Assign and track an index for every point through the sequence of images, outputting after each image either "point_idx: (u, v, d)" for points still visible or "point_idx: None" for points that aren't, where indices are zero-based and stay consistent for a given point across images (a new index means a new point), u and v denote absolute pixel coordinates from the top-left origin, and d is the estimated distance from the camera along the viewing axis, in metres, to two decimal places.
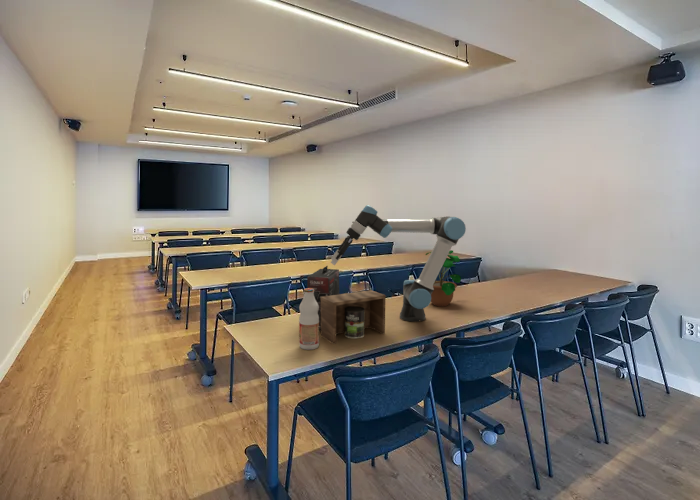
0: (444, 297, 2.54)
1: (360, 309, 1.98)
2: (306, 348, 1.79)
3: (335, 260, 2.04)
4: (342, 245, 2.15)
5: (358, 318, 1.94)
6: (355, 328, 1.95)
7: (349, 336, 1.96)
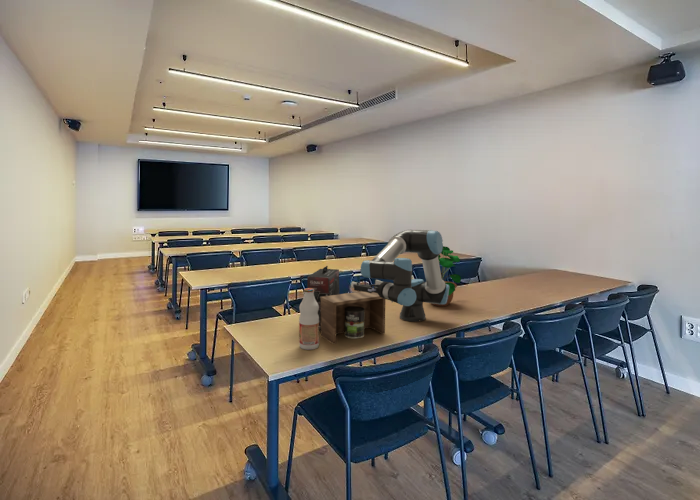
0: None
1: (360, 309, 1.98)
2: (306, 348, 1.79)
3: None
4: None
5: (358, 318, 1.94)
6: (355, 328, 1.95)
7: (349, 336, 1.96)
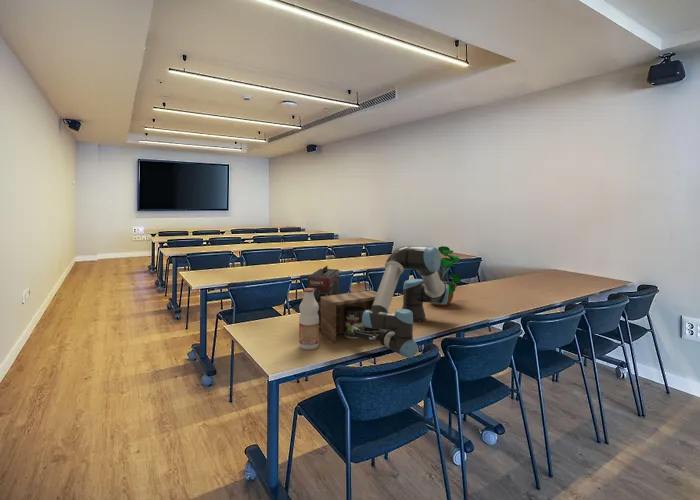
0: None
1: (360, 309, 1.98)
2: (306, 348, 1.79)
3: None
4: None
5: (358, 318, 1.94)
6: None
7: (349, 336, 1.96)
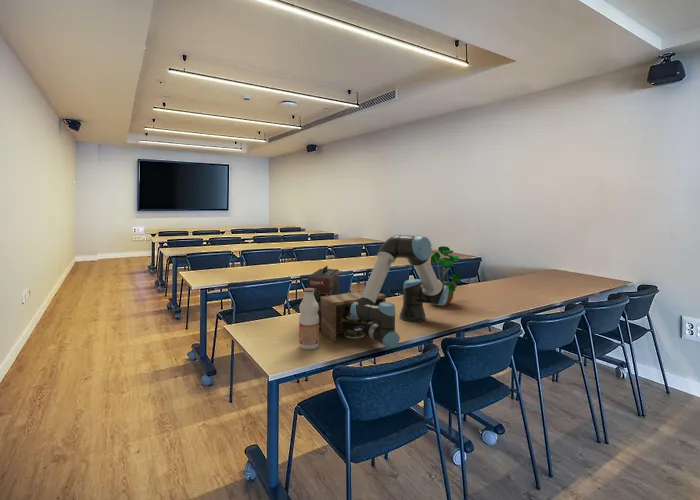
0: None
1: None
2: (306, 348, 1.79)
3: None
4: None
5: None
6: None
7: (349, 336, 1.96)
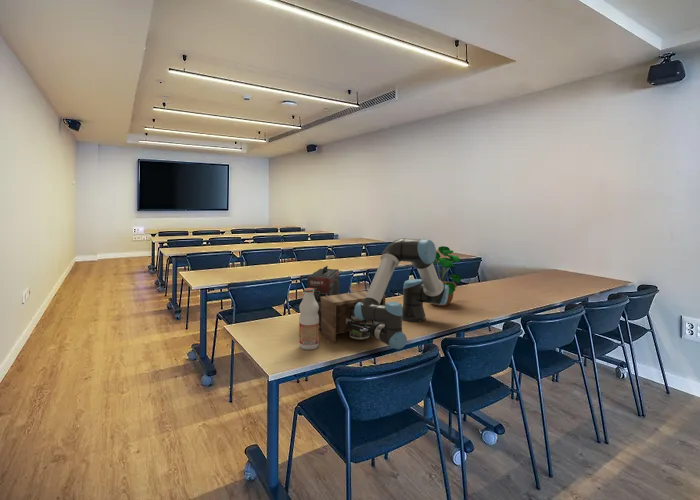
0: None
1: None
2: (306, 348, 1.79)
3: None
4: None
5: None
6: None
7: (354, 337, 1.90)
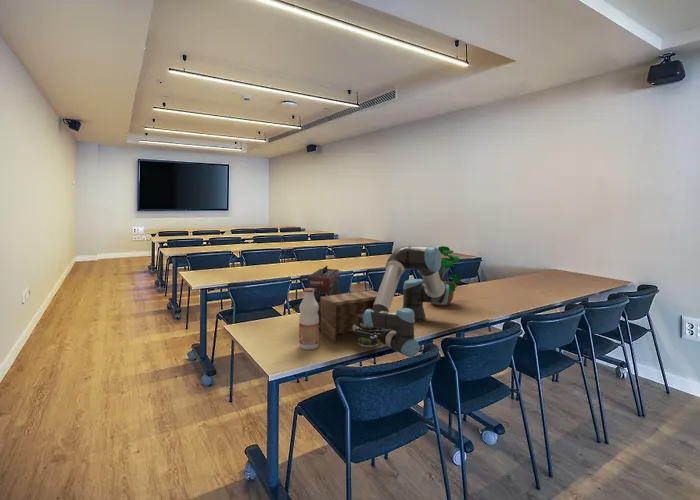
0: None
1: None
2: (306, 348, 1.79)
3: None
4: None
5: None
6: None
7: (363, 344, 1.84)
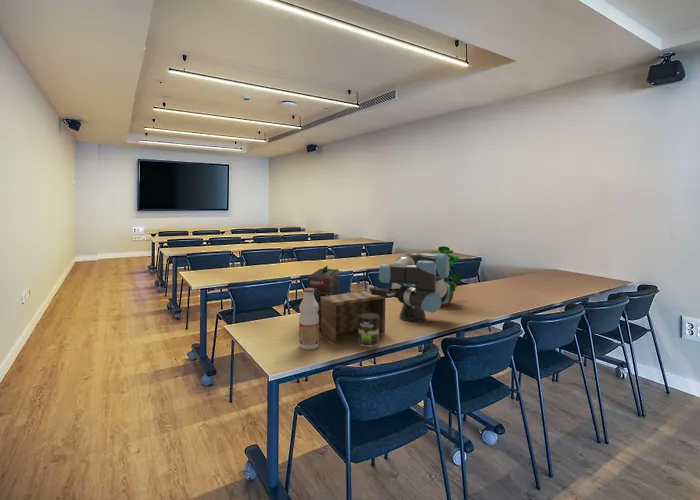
0: None
1: (375, 316, 1.87)
2: (306, 348, 1.79)
3: None
4: None
5: (373, 325, 1.83)
6: (370, 336, 1.83)
7: (363, 344, 1.84)
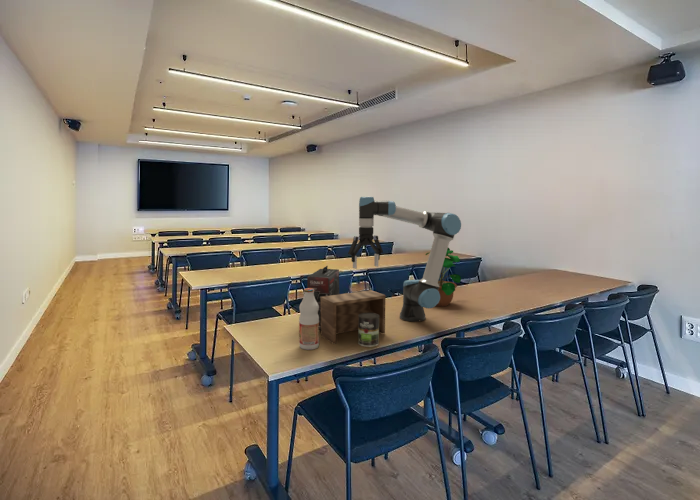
0: (444, 297, 2.54)
1: (375, 316, 1.87)
2: (306, 348, 1.79)
3: (354, 263, 1.98)
4: (372, 247, 2.04)
5: (373, 325, 1.83)
6: (370, 336, 1.83)
7: (363, 344, 1.84)
